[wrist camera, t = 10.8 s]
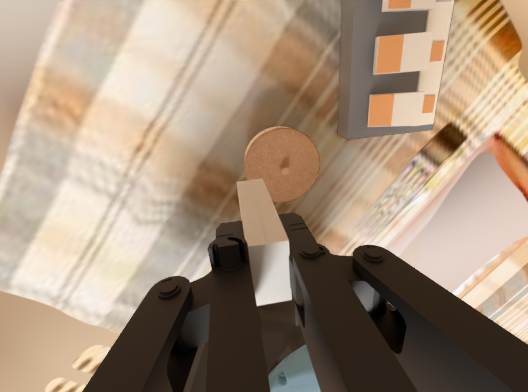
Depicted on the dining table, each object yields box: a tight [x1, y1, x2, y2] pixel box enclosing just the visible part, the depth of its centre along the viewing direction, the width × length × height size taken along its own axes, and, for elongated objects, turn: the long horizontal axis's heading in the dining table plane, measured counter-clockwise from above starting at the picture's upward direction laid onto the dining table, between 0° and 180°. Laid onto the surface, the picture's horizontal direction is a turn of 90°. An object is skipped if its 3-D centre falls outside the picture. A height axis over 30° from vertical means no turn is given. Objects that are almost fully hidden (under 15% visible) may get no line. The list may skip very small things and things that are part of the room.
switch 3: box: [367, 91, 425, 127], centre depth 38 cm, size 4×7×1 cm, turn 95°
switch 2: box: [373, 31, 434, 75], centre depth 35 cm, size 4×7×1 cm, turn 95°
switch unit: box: [337, 0, 455, 140], centre depth 38 cm, size 22×14×5 cm, turn 5°
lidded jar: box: [244, 126, 320, 202], centre depth 40 cm, size 11×11×9 cm
